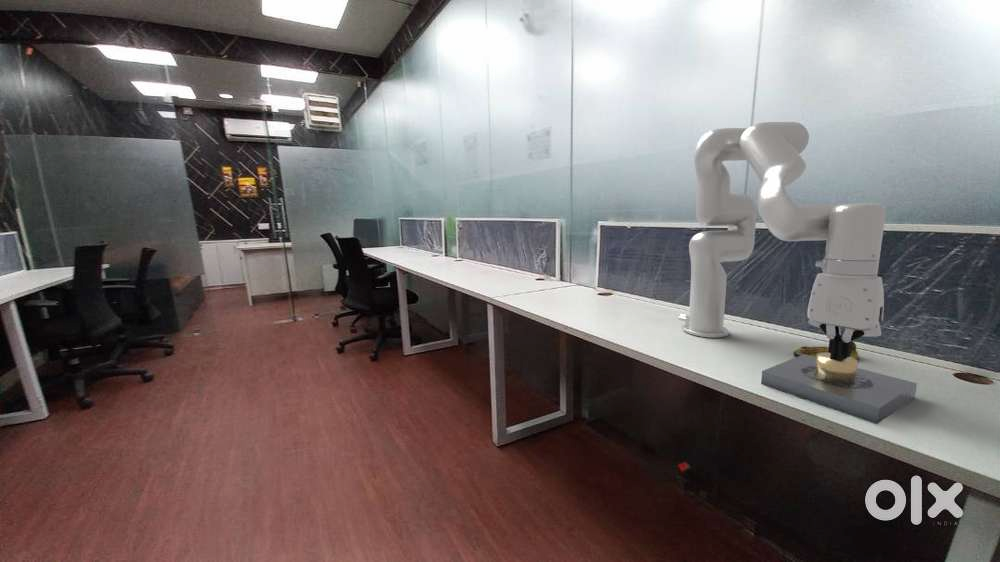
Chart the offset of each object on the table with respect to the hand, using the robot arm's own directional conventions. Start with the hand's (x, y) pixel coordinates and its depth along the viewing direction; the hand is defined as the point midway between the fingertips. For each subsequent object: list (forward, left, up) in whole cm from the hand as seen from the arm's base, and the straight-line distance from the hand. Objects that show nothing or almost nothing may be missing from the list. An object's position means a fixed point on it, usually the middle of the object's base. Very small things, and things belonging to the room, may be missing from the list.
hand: (838, 358), depth 72 cm
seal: (-9, +21, -8) cm, 24 cm away
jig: (0, 0, -7) cm, 7 cm away
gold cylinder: (0, 0, -7) cm, 7 cm away
